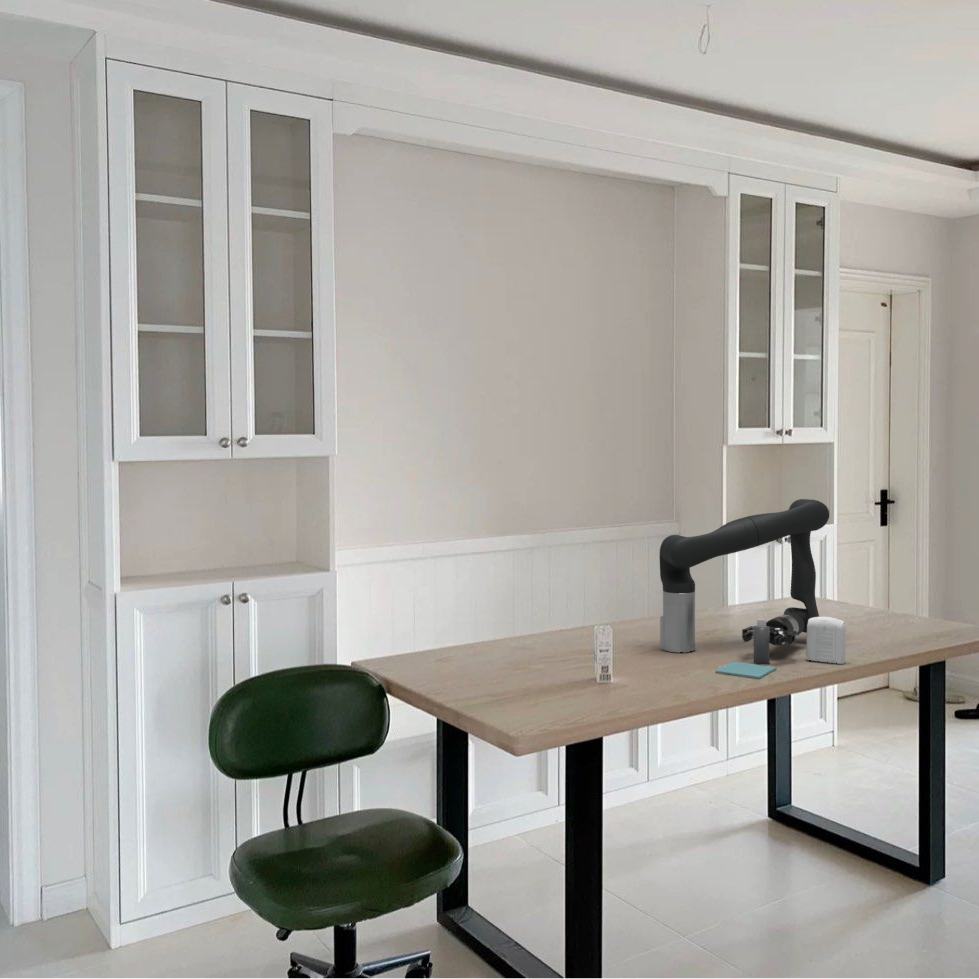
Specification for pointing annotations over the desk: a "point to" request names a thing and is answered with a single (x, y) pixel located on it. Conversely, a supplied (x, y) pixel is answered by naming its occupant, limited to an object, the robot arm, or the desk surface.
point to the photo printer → (826, 640)
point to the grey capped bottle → (761, 642)
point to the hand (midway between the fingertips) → (760, 639)
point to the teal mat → (746, 670)
